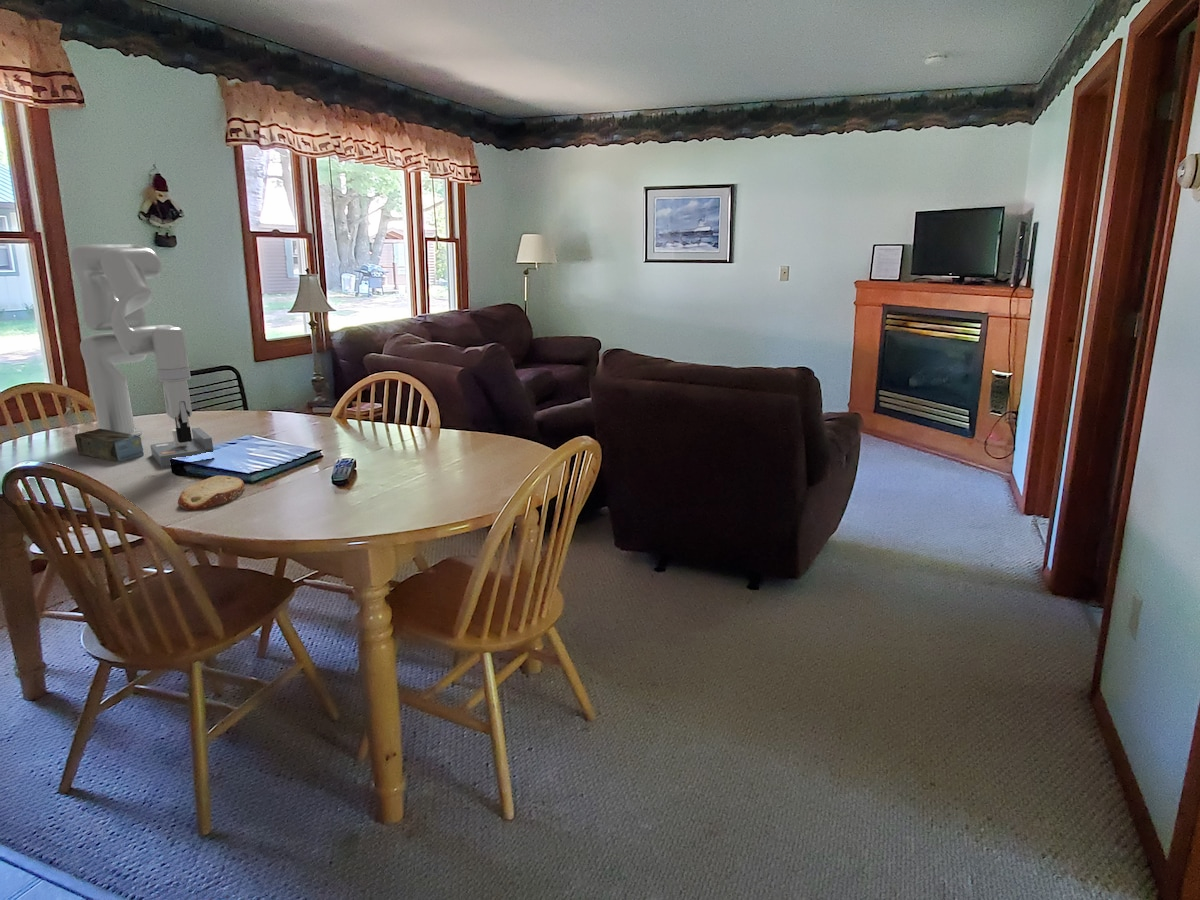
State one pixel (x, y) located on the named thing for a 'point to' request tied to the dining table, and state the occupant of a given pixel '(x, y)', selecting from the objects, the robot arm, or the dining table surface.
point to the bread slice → (211, 493)
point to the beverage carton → (109, 444)
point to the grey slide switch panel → (182, 448)
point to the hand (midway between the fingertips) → (185, 441)
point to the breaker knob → (177, 439)
